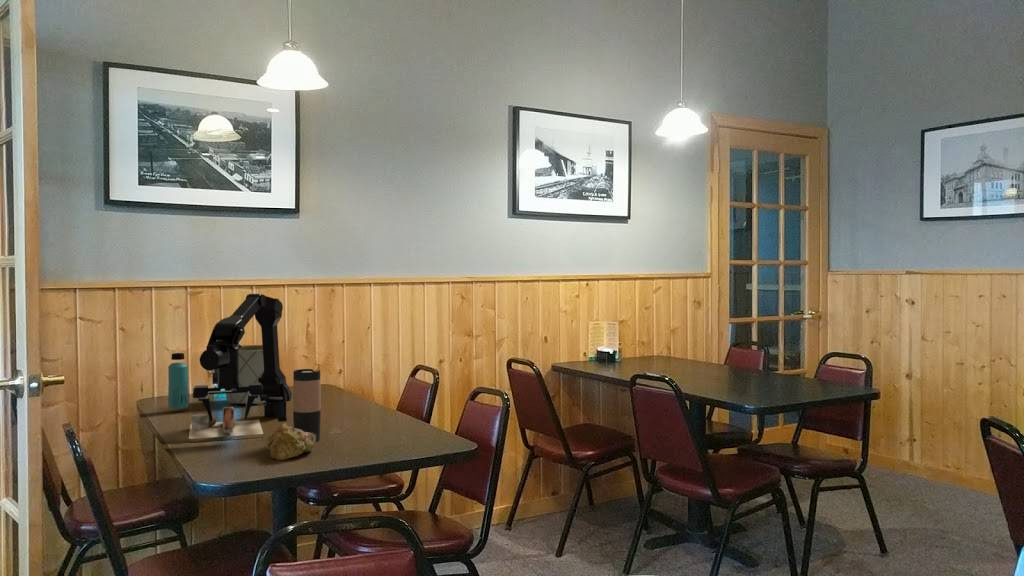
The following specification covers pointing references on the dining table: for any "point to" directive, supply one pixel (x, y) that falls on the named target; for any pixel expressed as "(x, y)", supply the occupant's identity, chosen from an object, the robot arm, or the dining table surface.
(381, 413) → the dining table surface
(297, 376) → the travel mug
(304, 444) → the rock
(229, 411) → the lever
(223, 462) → the dining table surface
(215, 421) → the walnut
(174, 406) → the beverage bottle
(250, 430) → the base
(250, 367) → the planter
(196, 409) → the dining table surface
